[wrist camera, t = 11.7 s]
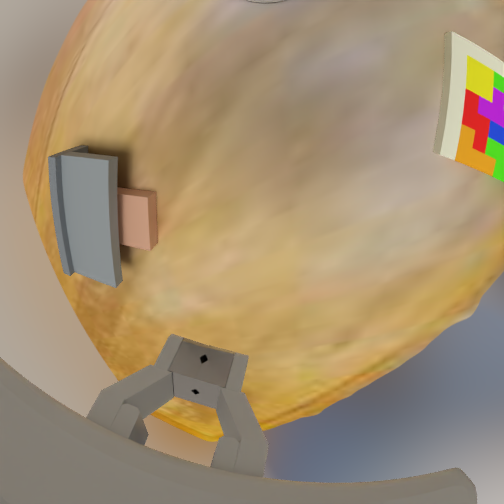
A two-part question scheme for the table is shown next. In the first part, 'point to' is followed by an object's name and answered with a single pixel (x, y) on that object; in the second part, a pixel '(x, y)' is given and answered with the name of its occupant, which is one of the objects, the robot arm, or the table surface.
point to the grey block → (86, 213)
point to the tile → (137, 218)
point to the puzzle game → (471, 107)
